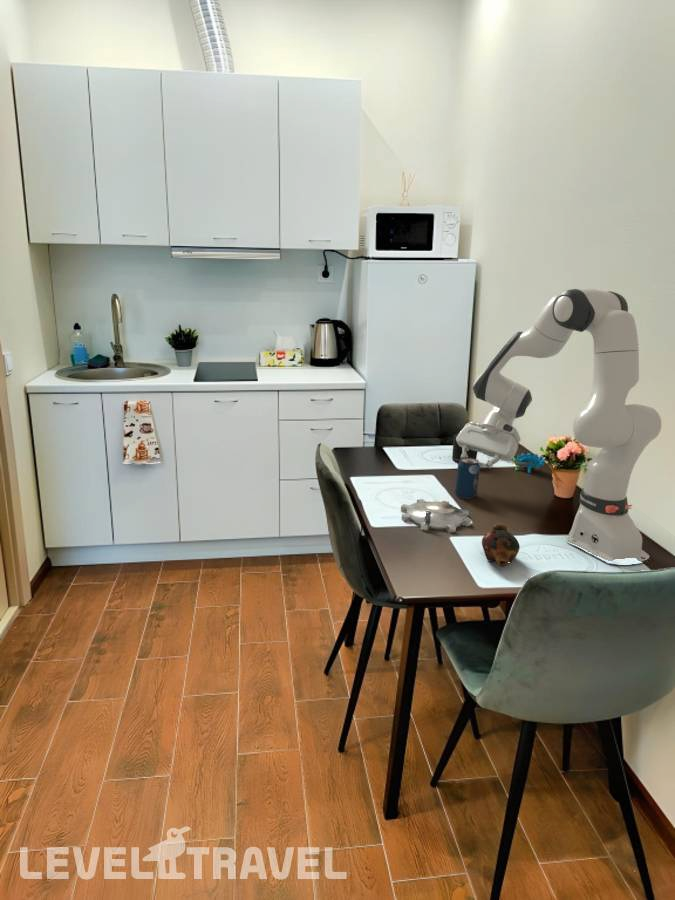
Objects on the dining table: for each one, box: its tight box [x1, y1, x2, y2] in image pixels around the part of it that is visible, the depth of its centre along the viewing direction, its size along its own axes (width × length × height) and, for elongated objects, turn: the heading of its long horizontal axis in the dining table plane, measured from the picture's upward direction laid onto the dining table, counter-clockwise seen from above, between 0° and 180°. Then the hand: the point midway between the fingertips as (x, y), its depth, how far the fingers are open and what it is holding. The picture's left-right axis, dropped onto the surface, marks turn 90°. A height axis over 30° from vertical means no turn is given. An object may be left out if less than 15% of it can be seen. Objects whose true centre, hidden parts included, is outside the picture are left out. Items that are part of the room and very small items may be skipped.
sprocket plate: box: [400, 498, 472, 534], centre depth 200 cm, size 21×21×4 cm
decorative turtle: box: [481, 522, 521, 567], centre depth 176 cm, size 10×15×8 cm, turn 178°
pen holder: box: [451, 431, 478, 464], centre depth 251 cm, size 9×9×10 cm
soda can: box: [454, 457, 481, 500], centre depth 217 cm, size 7×7×12 cm
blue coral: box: [512, 452, 546, 474], centre depth 245 cm, size 11×6×10 cm
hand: (475, 462), depth 218 cm, fingers open, 8 cm apart
